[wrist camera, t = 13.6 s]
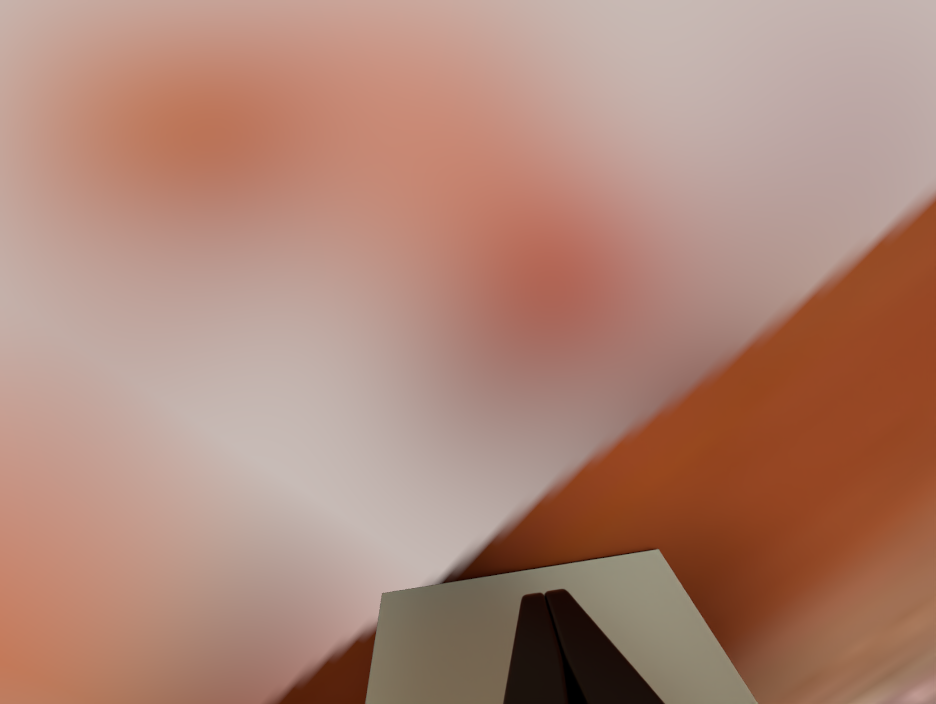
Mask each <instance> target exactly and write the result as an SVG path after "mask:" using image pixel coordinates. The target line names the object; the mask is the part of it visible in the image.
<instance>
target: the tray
mask: <svg viewBox="0 0 936 704" xmlns="http://www.w3.org/2000/svg"><path fill="white" fill-rule="evenodd" d="M557 589H565V590H567V591H568V592H569V593H570V594H571V595H572V597H573V598H574V599H575V600H576V601H577V602H578V603H579V605H580V606H581V607H582V608H583V609H584V610H585V612H586V613H587V614H588V615H589V616H590V617H591V618H592V620H593V621H594V622H595V623H596V624H597V625H598V627H599V628H600V629H601V630H602V631H603V632H604V634H605V635H606V636H607V637H608V638H609V639H610V640H611V642H612V643H613V644H614V645H615V646H616V647H617V649H618V650H619V651H620V652H621V653H622V654H623V655H624V657H625V658H626V659H627V660H628V661H629V662H630V664H631V665H632V666H633V667H634V668H635V669H636V671H637V672H638V673H639V674H640V675H641V676H642V677H643V679H644V680H645V681H646V682H647V683H648V684H649V686H650V687H651V688H652V689H653V690H654V691H655V692H656V694H657V695H658V696H659V697H660V698H661V699H662V701H663V702H664V703H665V704H758V703H757V701H756V700H755V698H754V697H753V695H752V694H751V692H750V690H749V689H748V687H747V686H746V684H745V683H744V681H743V680H742V678H741V676H740V675H739V673H738V672H737V670H736V669H735V667H734V666H733V664H732V662H731V661H730V659H729V658H728V656H727V655H726V653H725V652H724V650H723V649H722V647H721V645H720V644H719V642H718V641H717V639H716V638H715V636H714V635H713V633H712V631H711V630H710V628H709V627H708V625H707V624H706V622H705V621H704V619H703V618H702V616H701V614H700V613H699V611H698V610H697V608H696V607H695V605H694V604H693V602H692V600H691V599H690V597H689V596H688V594H687V593H686V591H685V590H684V588H683V586H682V585H681V583H680V582H679V580H678V579H677V577H676V576H675V574H674V573H673V571H672V569H671V568H670V566H669V565H668V563H667V562H666V560H665V559H664V557H663V555H662V554H661V552H660V551H659V549H657V550H651V551H645V552H638V553H632V554H626V555H619V556H613V557H607V558H601V559H594V560H588V561H582V562H575V563H569V564H563V565H557V566H550V567H544V568H538V569H531V570H525V571H519V572H513V573H506V574H500V575H494V576H488V577H481V578H475V579H469V580H462V581H456V582H450V583H444V584H437V585H431V586H425V587H418V588H412V589H406V590H400V591H393V592H387V593H382V598H381V604H380V611H379V617H378V624H377V630H376V637H375V643H374V650H373V656H372V663H371V669H370V676H369V683H368V689H367V696H366V702H365V704H503V700H504V695H505V689H506V683H507V678H508V672H509V666H510V660H511V655H512V649H513V643H514V638H515V632H516V626H517V620H518V615H519V609H520V603H521V599H522V596H523V595H526V594H532V593H538V592H541V593H543V594H545V592H547V591H550V590H557Z"/></svg>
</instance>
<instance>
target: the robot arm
mask: <svg viewBox="0 0 936 704" xmlns="http://www.w3.org/2000/svg"><path fill="white" fill-rule="evenodd" d="M503 704H665V703H664V702H663V701H662V699H661V698H660V697H659V696H658V695H657V694H656V692H655V691H654V690H653V689H652V688H651V687H650V686H649V684H648V683H647V682H646V681H645V680H644V679H643V677H642V676H641V675H640V674H639V673H638V672H637V671H636V669H635V668H634V667H633V666H632V665H631V664H630V662H629V661H628V660H627V659H626V658H625V657H624V655H623V654H622V653H621V652H620V651H619V650H618V649H617V647H616V646H615V645H614V644H613V643H612V642H611V640H610V639H609V638H608V637H607V636H606V635H605V634H604V632H603V631H602V630H601V629H600V628H599V627H598V625H597V624H596V623H595V622H594V621H593V620H592V618H591V617H590V616H589V615H588V614H587V613H586V612H585V610H584V609H583V608H582V607H581V606H580V605H579V603H578V602H577V601H576V600H575V599H574V598H573V597H572V595H571V594H570V593H569V592H568V591H567V590H565V589H557V590H550V591H547V592H545V594H543V593H541V592H538V593H532V594H526V595H523V596H522V599H521V603H520V609H519V615H518V620H517V626H516V632H515V638H514V643H513V649H512V655H511V660H510V666H509V672H508V678H507V683H506V689H505V695H504V700H503Z"/></svg>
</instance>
